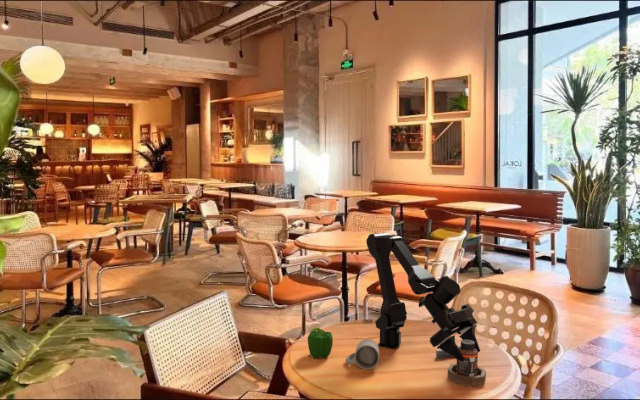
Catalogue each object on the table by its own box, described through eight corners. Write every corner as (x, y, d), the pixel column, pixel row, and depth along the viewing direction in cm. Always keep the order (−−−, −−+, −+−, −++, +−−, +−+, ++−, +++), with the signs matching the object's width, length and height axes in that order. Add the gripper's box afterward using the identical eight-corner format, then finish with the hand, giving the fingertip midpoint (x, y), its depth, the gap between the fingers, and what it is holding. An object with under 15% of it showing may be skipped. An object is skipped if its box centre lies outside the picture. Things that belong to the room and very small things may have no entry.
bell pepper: (327, 349, 174) (327, 320, 173) (336, 358, 167) (336, 329, 166) (303, 352, 171) (303, 323, 170) (311, 362, 164) (311, 332, 163)
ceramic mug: (379, 359, 166) (379, 336, 166) (379, 370, 158) (379, 346, 157) (346, 358, 167) (346, 335, 167) (344, 369, 159) (344, 345, 159)
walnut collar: (445, 382, 150) (445, 373, 150) (452, 368, 160) (452, 360, 159) (482, 389, 146) (482, 380, 146) (486, 374, 155) (487, 366, 155)
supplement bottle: (477, 383, 149) (479, 346, 148) (456, 381, 151) (457, 344, 149) (475, 375, 155) (477, 338, 154) (455, 373, 156) (456, 337, 155)
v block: (473, 364, 162) (473, 357, 162) (435, 358, 167) (435, 350, 167) (477, 355, 170) (477, 348, 169) (440, 349, 175) (440, 342, 174)
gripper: (439, 303, 147) (474, 351, 140) (472, 290, 160) (505, 334, 153) (416, 323, 153) (447, 370, 146) (449, 310, 166) (479, 352, 160)
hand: (471, 356), depth 151 cm, fingers open, 9 cm apart
